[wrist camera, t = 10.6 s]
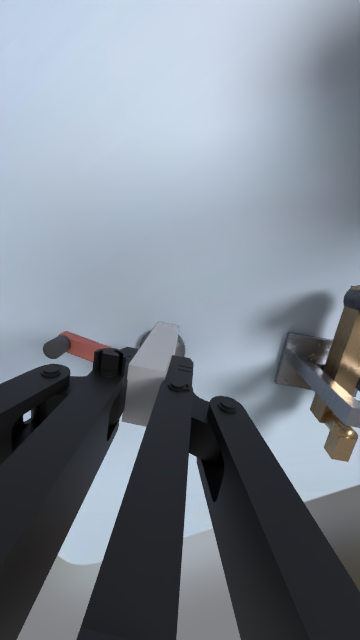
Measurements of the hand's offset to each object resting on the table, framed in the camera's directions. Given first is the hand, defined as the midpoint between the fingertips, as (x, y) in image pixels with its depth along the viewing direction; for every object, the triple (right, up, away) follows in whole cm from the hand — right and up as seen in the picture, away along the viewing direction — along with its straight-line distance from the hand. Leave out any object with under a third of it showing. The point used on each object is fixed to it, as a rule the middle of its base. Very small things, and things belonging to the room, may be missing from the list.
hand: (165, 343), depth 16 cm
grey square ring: (+22, -5, +20) cm, 30 cm away
